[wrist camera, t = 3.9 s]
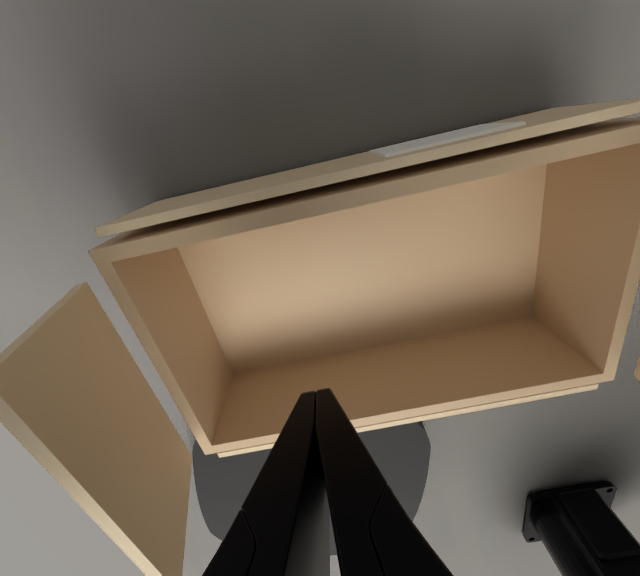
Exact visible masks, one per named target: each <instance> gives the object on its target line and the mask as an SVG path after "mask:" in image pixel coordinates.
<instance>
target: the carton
mask: <svg viewBox="0 0 640 576" xmlns="http://www.w3.org/2000/svg"><path fill="white" fill-rule="evenodd" d="M636 113H640V98H636V99H627V100H618V101H609V102H601V103H592V104H583V105H574V106H566V107H557V108H550V109H546V110H541V111H537V112H533V113H529V114H524V115H520V116H516V117H512V118H507V119H503V120H499V121H495V122H491V123H486V124H479V125H475V126H471V127H467V128H462V129H458V130H454V131H450V132H445V133H441V134H437V135H433V136H428V137H424V138H420V139H416V140H411V141H407V142H403V143H399V144H394V145H390V146H386V147H382V148H378V149H373V150H369V151H367V152H363V153H359V154H355V155H350V156H346V157H342V158H338V159H334V160H329V161H325V162H321V163H317V164H312V165H308V166H304V167H300V168H295V169H291V170H287V171H283V172H278V173H274V174H270V175H266V176H261V177H257V178H253V179H249V180H244V181H240V182H236V183H232V184H227V185H223V186H219V187H215V188H210V189H206V190H202V191H198V192H193V193H189V194H185V195H181V196H176V197H172V198H168V199H164V200H160V201H156V202H154V203H151V204H149V205H147V206H145V207H142V208H140V209H138V210H135V211H133V212H131V213H128V214H126V215H124V216H121V217H119V218H117V219H115V220H112V221H110V222H108V223H105V224H103V225H101V226H98V227H96V228H94V230H95V232H96V234H97V236H98V237H104V236H108V235H112V234H116V233H121V232H123V233H122V234H120V235H118V236H116V237H114V238H112V239H110V240H108V241H106V242H104V243H103V244H101V245H99V246H97V247H95V248H93V249H91V250H89V251H88V252H89V254H90V256H91V257H92V259H93V261H94V263H95V264H96V266H97V268H98V270H99V271H100V273H101V275H102V276H103V278H104V280H105V282H106V283H107V285H108V287H109V289H110V290H111V292H112V294H113V296H114V297H115V299H116V301H117V303H118V304H119V306H120V308H121V309H122V311H123V313H124V315H125V316H126V318H127V320H128V322H129V323H130V325H131V327H132V329H133V330H134V332H135V334H136V336H137V337H138V339H139V341H140V342H141V344H142V346H143V348H144V349H145V351H146V353H147V355H148V356H149V358H150V360H151V362H152V363H153V365H154V367H155V369H156V370H157V372H158V374H159V376H160V377H161V379H162V381H163V382H164V384H165V386H166V388H167V389H168V391H169V393H170V395H171V396H172V398H173V400H174V402H175V403H176V405H177V407H178V409H179V410H180V412H181V414H182V415H183V417H184V419H185V421H186V422H187V424H188V426H189V428H190V429H191V431H192V433H193V435H194V436H195V438H196V440H197V442H198V443H199V445H200V447H201V448H202V450H203V452H204V454H205V455H208V454H213V453H217V454H218V456H219V458H221V457H227V456H232V455H238V454H243V453H249V452H254V451H260V450H265V449H271V448H272V447H273V446H274V444H275V442H276V440H277V438H278V436H279V434H280V432H281V430H282V428H283V427H284V425H285V423H286V421H287V419H288V417H289V415H290V413H291V411H292V410H293V408H294V406H295V404H296V402H297V400H298V398H299V396H300V394H301V393H303V392H308V391H315V392H316V391H317V390H318V389H323V388H330V389H331V390H332V392H333V393H334V395H335V397H336V398H337V400H338V402H339V403H340V405H341V407H342V408H343V410H344V412H345V413H346V415H347V416H348V418H349V420H350V421H351V423H352V425H353V426H354V428H355V430H356V431H357V433H358V432H364V431H369V430H375V429H380V428H386V427H391V426H397V425H402V424H408V423H413V422H419V421H424V420H430V419H435V418H441V417H446V416H452V415H457V414H463V413H468V412H474V411H479V410H485V409H490V408H496V407H501V406H507V405H512V404H518V403H523V402H529V401H534V400H540V399H545V398H551V397H556V396H562V395H567V394H573V393H578V392H584V391H589V390H595V389H598V385H599V384H598V383H601V382H606V381H612V380H614V377H615V373H616V370H617V366H618V362H619V358H620V354H621V351H622V347H623V343H624V339H625V335H626V332H627V328H628V324H629V320H630V316H631V313H632V309H633V305H634V301H635V297H636V293H637V290H638V286H639V282H640V117H638V118H620V119H614V118H619V117H623V116H627V115H632V114H636Z"/></svg>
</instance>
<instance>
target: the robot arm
mask: <svg viewBox="0 0 640 576" xmlns="http://www.w3.org/2000/svg"><path fill="white" fill-rule="evenodd" d="M616 489H617V488H616V487H615V486H614V485H613V483H612V482H610V481H606V482H600V483H594V484H588V485H582V486H576V487H570V488H564V489H558V490H551V491H545V492H539V493H534V494H531V495H530V496H529V497H528V500H527V508H526V516H525V523H524V531H523V536H524V538H525V540H526V541H527V542H536V541H542V542H543V544H544V545H545V547H546V549H547V550H548V552H549V554H550V556H551V557H552V559H553V561H554V563H555V564H556V566H557V568H558V569H559V571H560V573H561V575H562V576H640V544H639V542H638V541H637V540H636V539H635V538H634V536H633V535H632V534H631V533H630V531H629V530H628V529H627V528H626V527H625V525H624V524H623V523H622V522H621V520H620V519H619V518H618V517H617V515H616V514H615V513H614V512H613V511H612V509H611V508H610V507H611V504H612V501H613V498H614V495H615V492H616ZM241 508H242V510H239V512H238V514H237V516H236V517H235V519H234V521H233V523H232V525H231V527H230V529H229V531H228V532H227V534H226V536H225V538H224V540H223V541H222V543H221V545H220V547H219V549H218V550H217V552H216V554H215V555H214V557H213V559H212V560H211V562H210V564H209V565H208V567H207V568H206V570H205V572H204V573H203V575H202V576H330V515H331V521H332V527H333V533H334V538H335V544H336V550H337V556H338V562H339V567H340V573H341V576H453V574H452V573H451V572H450V571H449V569H448V568H447V567H446V565H445V564H444V563H443V562H442V560H441V559H440V558H439V557H438V555H437V554H436V553H435V551H434V550H433V549H432V548H431V546H430V545H429V544H428V542H427V541H426V540H425V538H424V537H423V535H422V534H421V533H420V531H419V530H418V529H417V527H416V526H415V524H414V523H413V522H412V520H411V519H410V517H409V516H408V514H407V513H406V511H405V510H404V508H403V506H402V505H401V503H400V502H399V500H398V499H397V497H396V495H395V494H394V492H393V491H392V489H391V487H390V486H389V485H388V483H387V481H386V479H385V478H384V476H383V474H382V473H381V471H380V469H379V468H378V466H377V464H376V463H375V461H374V459H373V458H372V456H371V454H370V453H369V451H368V450H367V448H366V446H365V445H364V443H363V441H362V440H361V438H360V436H359V435H358V433H357V431H356V430H355V428H354V426H353V425H352V423H351V421H350V420H349V418H348V416H347V415H346V413H345V412H344V410H343V408H342V407H341V405H340V403H339V402H338V400H337V398H336V397H335V395H334V393H333V392H332V390H331V389H330V388H323V389H318V390H317V391H316V392H315V391H308V392H303V393H301V394H300V396H299V398H298V400H297V402H296V404H295V406H294V408H293V410H292V411H291V413H290V415H289V417H288V419H287V421H286V423H285V425H284V427H283V428H282V430H281V432H280V434H279V436H278V438H277V440H276V442H275V444H274V446H273V447H272V449H271V451H270V453H269V455H268V457H267V459H266V461H265V463H264V465H263V466H262V468H261V470H260V472H259V474H258V476H257V478H256V480H255V482H254V484H253V485H252V487H251V489H250V491H249V493H248V495H247V497H246V499H245V501H244V503H243V504H242V506H241Z"/></svg>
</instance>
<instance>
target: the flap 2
mask: <svg viewBox="0 0 640 576" xmlns="http://www.w3.org/2000/svg"><path fill="white" fill-rule="evenodd" d="M634 376H635V377H636V378H637V379H638V381H639V382H640V356H639V359H638V362H637V366H636V369H635V373H634Z"/></svg>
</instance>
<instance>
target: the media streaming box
mask: <svg viewBox="0 0 640 576" xmlns="http://www.w3.org/2000/svg"><path fill="white" fill-rule="evenodd" d="M358 435H359V436H360V438H361V440H362V441H363V443H364V445H365V446H366V448H367V450H368V451H369V453H370V454H371V456H372V458H373V459H374V461H375V463H376V464H377V466H378V468H379V469H380V471H381V473H382V474H383V476H384V478H385V479H386V481H387V483H388V485H389V486H390V487H391V489H392V491H393V492H394V494H395V495H396V497H397V499H398V500H399V502H400V503H401V505H402V506H403V508H404V510H405V511H406V513H407V514H408V516H409V517H410V519H411V520H412V521H413V519H414V517H415V515H416V513H417V511H418V508H419V505H420V502H421V499H422V496H423V492H424V488H425V484H426V479H427V473H428V466H429V458H430V442H429V438H428V436H427V434H426V431H425V429H424V426H423V424H422V421H419V422H413V423H408V424H402V425H397V426H391V427H386V428H380V429H375V430H369V431H364V432H358ZM271 449H272V448H271ZM271 449H265V450H260V451H254V452H249V453H243V454H238V455H232V456H227V457H221V458H219V456H218V454H217V453H213V454H208V455H205V454H204V452H203V450H202V448H201V447H200V445H199V443H198V442H197V440H195V443H194V446H193V468H194V477H195V485H196V491H197V496H198V500H199V504H200V508H201V511H202V514H203V517H204V520H205V522H206V524H207V527H208V529H209V530H210V532H211V533H212V534H213V535H214V536H216V537H217V538H219V539H220V540H222V541H223V540H224V538H225V536H226V534H227V532H228V531H229V529H230V527H231V525H232V523H233V521H234V519H235V517H236V516H237V514H238V512H239V510H242V508H241V506H242V504H243V503H244V501H245V499H246V497H247V495H248V493H249V491H250V489H251V487H252V485H253V484H254V482H255V480H256V478H257V476H258V474H259V472H260V470H261V468H262V466H263V465H264V463H265V461H266V459H267V457H268V455H269V453H270V451H271ZM330 555H337V550H336V544H335V538H334V533H333V527H332V521H331V515H330Z"/></svg>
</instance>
